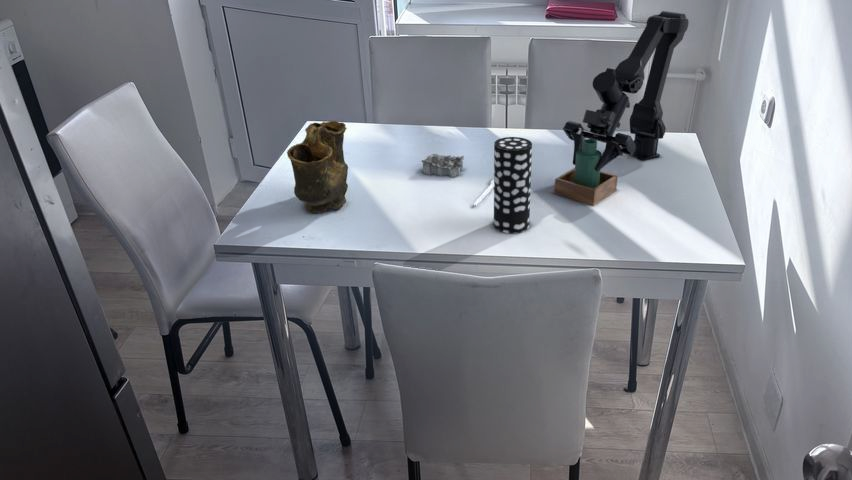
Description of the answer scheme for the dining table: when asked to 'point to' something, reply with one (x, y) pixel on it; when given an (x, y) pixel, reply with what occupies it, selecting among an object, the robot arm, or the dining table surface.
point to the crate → (585, 188)
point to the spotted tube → (512, 184)
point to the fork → (485, 193)
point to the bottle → (587, 164)
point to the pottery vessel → (320, 167)
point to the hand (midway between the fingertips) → (585, 167)
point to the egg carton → (443, 165)
